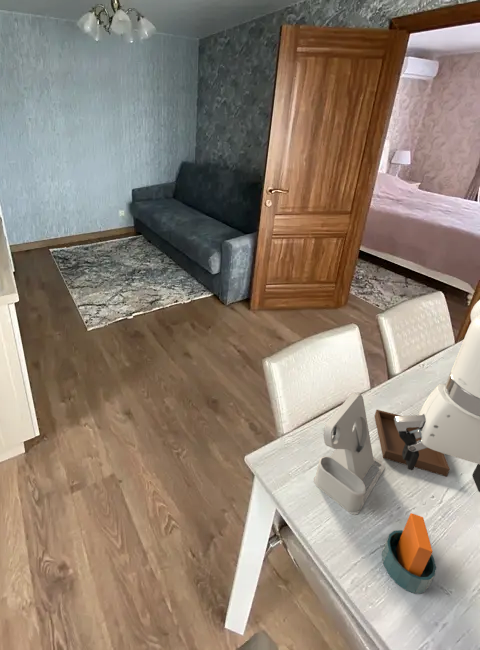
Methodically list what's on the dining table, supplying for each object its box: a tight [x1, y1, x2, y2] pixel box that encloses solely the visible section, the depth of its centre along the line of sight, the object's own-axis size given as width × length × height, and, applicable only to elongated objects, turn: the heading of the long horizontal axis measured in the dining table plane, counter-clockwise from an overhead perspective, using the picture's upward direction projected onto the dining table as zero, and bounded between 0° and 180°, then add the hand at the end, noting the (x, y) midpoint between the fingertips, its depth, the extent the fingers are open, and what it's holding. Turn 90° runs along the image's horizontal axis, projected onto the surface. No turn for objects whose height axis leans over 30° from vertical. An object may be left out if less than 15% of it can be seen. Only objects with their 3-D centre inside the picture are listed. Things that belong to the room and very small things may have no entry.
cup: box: [381, 529, 437, 595], centre depth 63 cm, size 7×7×5 cm
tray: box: [374, 409, 451, 477], centre depth 88 cm, size 13×13×2 cm
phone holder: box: [313, 392, 385, 516], centre depth 77 cm, size 17×10×18 cm, turn 132°
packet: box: [396, 512, 434, 577], centre depth 62 cm, size 2×6×11 cm, turn 160°
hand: (442, 473), depth 57 cm, fingers open, 9 cm apart
